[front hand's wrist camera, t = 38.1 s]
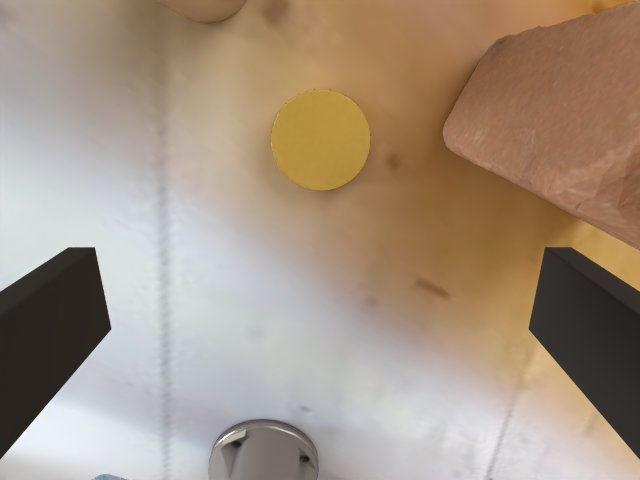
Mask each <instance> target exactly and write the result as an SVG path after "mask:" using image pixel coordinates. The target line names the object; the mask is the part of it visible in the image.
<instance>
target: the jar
mask: <svg viewBox="0 0 640 480" xmlns="http://www.w3.org/2000/svg"><path fill="white" fill-rule="evenodd" d="M152 1H154V2H156V3H158V4H160V5H162V6H164V7H166V8H168V9H170V10H172V11H174V12H176V13H178V14H180V15H182V16H184V17H186V18H188V19H191V20H193V21H197V22H201V23H215V22H220V21H223V20H225V19H227V18H229V17H231V16H232V15H234V14H235V13H236V12H237V11H238V10H239V9H240V8H241V7H242V6H243V4H244V3H245V1H246V0H152Z"/></svg>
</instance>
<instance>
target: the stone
mask: <svg viewBox="0 0 640 480" xmlns="http://www.w3.org/2000/svg"><path fill="white" fill-rule="evenodd" d="M443 137H444V141H445V144H446V146H447V148H448V149H450V150H451V151H452V152H454V153H455V154H457V155H458V156H460V157H462V158H464V159H466V160H469V161H471V162H472V163H474V164H476V165H479V166H481V167H483V168H484V169H486V170H488V171H490V172H492V173H494V174H497V175H499V176H501V177H503V178H505V179H507V180H509V181H511V182H513V183H515V184H516V185H518V186H520V187H522V188H524V189H526V190H527V191H529V192H531V193H533V194H535V195H537V196H539V197H540V198H542V199H544V200H546V201H548V202H550V203H552V204H554V205H555V206H557V207H559V208H561V209H562V210H564V211H566V212H568V213H570V214H572V215H573V216H575V217H577V218H579V219H581V220H583V221H585V222H587V223H589V224H591V225H593V226H594V227H596V228H598V229H600V230H602V231H604V232H606V233H608V234H610V235H612V236H614V237H616V238H618V239H619V240H621V241H623V242H625V243H627V244H629V245H630V246H632V247H634V248H636V249H638V250H640V1H633V2H629V3H625V4H621V5H617V6H615V7H613V8H609V9H605V10H601V11H600V12H599V13H598V14H597V15H592V14H589V15H583V16H581V17H578V18H576V19H572V20H568V21H565V22H563V23H560V24H557V25H553V26H549V27H544V26H538V27H536V28H534V29H530V30H526V31H524V32H521V33H519V34H517V35H507V36H505V37H503V38H501V39H498V40H497V41H496V42H495V43H494V44H493V45H492V46H491V47H490V48H489V49H488V50H487V52H486V53H485V55H484V56H483V57H482V59H481V60H480V62H479V63H478V65H477V67H476V69H475V71H474V72H473V74H472V76H471V77H470V79H469V80H468V82H467V84H466V85H465V87H464V89H463V91H462V93H461V94H460V96H459V98H458V99H457V102H456V104H455V105H454V107H453V109H452V111H451V113H450V115H449V116H448V118H447V120H446V122H445V124H444V127H443Z"/></svg>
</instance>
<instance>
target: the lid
mask: <svg viewBox="0 0 640 480" xmlns="http://www.w3.org/2000/svg"><path fill="white" fill-rule="evenodd" d="M271 133H272V136H271V144H272V151H273V155H274V158H275V160H276V163H277V164H278V166H279V168H280V169H281V171H282V172H283V173H284V174H285V175H286V176H287V177H288V178H289V179H290V180H291V181H292V182H294V183H296V184H297V185H299V186H301V187H304V188H307V189H310V190H318V191H324V190H331V189H335V188H338V187H341V186H343V185H345V184H346V183H348V182H349V181H351V180H352V179H353V178H354V177H355V176H356V175H357V174H358V173H359V172H360V170H361V169H362V167H363V166H364V164H365V162H366V160H367V157H368V154H369V151H370V136H371V135H370V130H369V126H368V123H367V119H366V118H365V116H364V114H363V113H362V111H361V110H360V108H359V107H358V105H356V104H355V103H354V102H353V101H352V100H350V99H349V98H347V97H346V95H342V94H340V93H338V92H335V91H331V89H330V90H323V89H318V90H315V89H314V90H311V91H307V92H304V93H302V94H298V96H296V97H294V98H293V99H292V100H290V101H289V102H288V103H286V105H285V106H284V107H283V108H282V110H281V111H280V112H279V114H278V116H276V120H275V123H274V126H273V129H272V132H271Z"/></svg>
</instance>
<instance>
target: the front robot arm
mask: <svg viewBox="0 0 640 480" xmlns="http://www.w3.org/2000/svg"><path fill="white" fill-rule="evenodd" d="M110 330H111V324H110V319H109V315H108V310H107V305H106V300H105V295H104V290H103V285H102V280H101V275H100V271H99V266H98V261H97V256H96V251H95V247H68V248H67V249H65V250H64V251H62V252H61V253H59V254H58V255H56V256H55V257H53V258H52V259H50V260H48V261H47V262H45V263H44V264H42V265H41V266H39V267H38V268H36V269H35V270H33V271H31V272H30V273H28V274H27V275H25V276H24V277H22V278H21V279H19V280H18V281H16V282H15V283H13V284H11V285H10V286H8V287H7V288H5V289H4V290H2V291H1V292H0V459H1V458H2V457H3V456H4V454H5V453H6V452H7V451H8V450H9V449H10V447H11V446H12V445H13V444H14V443H15V442H16V440H17V439H18V438H19V437H20V436H21V434H22V433H23V432H24V431H25V430H26V429H27V427H28V426H29V425H30V424H31V423H32V422H33V420H34V419H35V418H36V417H37V416H38V415H39V413H40V412H41V411H42V410H43V409H44V407H45V406H46V405H47V404H48V403H49V402H50V400H51V399H52V398H53V397H54V396H55V395H56V393H57V392H58V391H59V390H60V389H61V388H62V386H63V385H64V384H65V383H66V382H67V381H68V379H69V378H70V377H71V376H72V375H73V373H74V372H75V371H76V370H77V369H78V368H79V366H80V365H81V364H82V363H83V362H84V361H85V359H86V358H87V357H88V356H89V355H90V354H91V352H92V351H93V350H94V349H95V348H96V347H97V345H98V344H99V343H100V342H101V341H102V339H103V338H104V337H105V336H106V335H107V334H108V332H109V331H110ZM529 330H530V331H531V332H532V334H533V335H534V336H535V337H536V338H537V339H538V341H539V342H540V343H541V344H542V345H543V347H544V348H545V349H546V350H547V351H548V352H549V354H550V355H551V356H552V357H553V358H554V359H555V361H556V362H557V363H558V364H559V365H560V366H561V368H562V369H563V370H564V371H565V372H566V373H567V375H568V376H569V377H570V378H571V379H572V381H573V382H574V383H575V384H576V385H577V386H578V388H579V389H580V390H581V391H582V392H583V393H584V395H585V396H586V397H587V398H588V399H589V400H590V402H591V403H592V404H593V405H594V406H595V407H596V409H597V410H598V411H599V412H600V413H601V415H602V416H603V417H604V418H605V419H606V420H607V422H608V423H609V424H610V425H611V426H612V427H613V429H614V430H615V431H616V432H617V433H618V434H619V436H620V437H621V438H622V439H623V440H624V442H625V443H626V444H627V445H628V446H629V447H630V449H631V450H632V451H633V452H634V453H635V454H636V456H637V457H638V458H639V459H640V292H639V291H638V290H636V289H635V288H633V287H632V286H630V285H629V284H627V283H625V282H624V281H622V280H621V279H619V278H618V277H616V276H615V275H613V274H612V273H610V272H609V271H607V270H605V269H604V268H602V267H601V266H599V265H598V264H596V263H595V262H593V261H592V260H590V259H588V258H587V257H585V256H584V255H582V254H581V253H579V252H578V251H576V250H575V249H573V248H572V247H545V251H544V256H543V261H542V266H541V271H540V275H539V280H538V285H537V290H536V295H535V300H534V305H533V310H532V315H531V319H530V324H529ZM317 476H318V455H317V452H316V449H315V447H314V445H313V443H312V442H311V441H310V439H309V438H308V437H307V436H306V435H305V434H303V433H302V432H301V431H299V430H298V429H296V428H294V427H293V426H290V425H288V424H285V423H282V422H278V421H273V420H252V421H247V422H243V423H240V424H237V425H235V426H233V427H231V428H229V429H228V430H227V431H225V432H224V433H223V434H222V435H221V436H220V437H219V438H218V439H217V441H216V443H215V445H214V447H213V450H212V453H211V456H210V461H209V480H317ZM92 480H127V479H124V478H120V477H117V476H113V475H109V474H103V475H99V476H97V477H95V478H93V479H92Z"/></svg>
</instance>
